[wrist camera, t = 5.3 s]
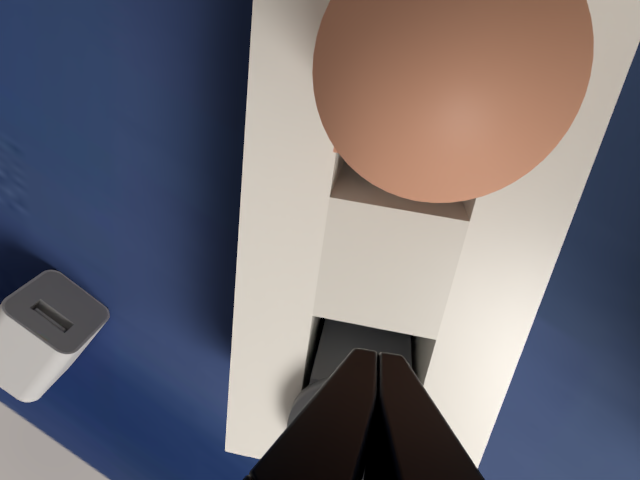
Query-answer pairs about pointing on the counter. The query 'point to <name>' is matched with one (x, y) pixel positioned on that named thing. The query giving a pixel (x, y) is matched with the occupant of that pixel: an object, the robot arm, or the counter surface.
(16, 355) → the usb wall charger
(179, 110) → the counter surface
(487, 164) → the terracotta plunger
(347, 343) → the charcoal plunger
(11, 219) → the counter surface
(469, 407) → the tray
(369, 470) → the robot arm
